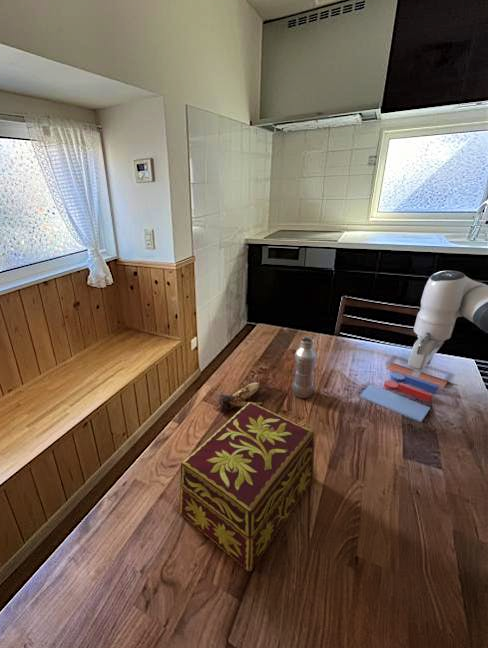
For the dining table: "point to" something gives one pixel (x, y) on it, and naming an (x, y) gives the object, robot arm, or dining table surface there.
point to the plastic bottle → (304, 368)
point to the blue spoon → (415, 382)
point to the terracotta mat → (423, 376)
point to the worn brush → (238, 398)
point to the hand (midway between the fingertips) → (421, 369)
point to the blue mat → (395, 403)
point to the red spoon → (408, 390)
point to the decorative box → (247, 481)
